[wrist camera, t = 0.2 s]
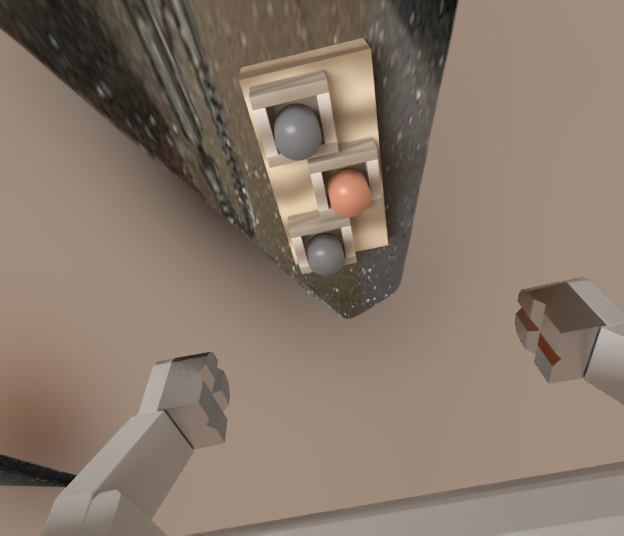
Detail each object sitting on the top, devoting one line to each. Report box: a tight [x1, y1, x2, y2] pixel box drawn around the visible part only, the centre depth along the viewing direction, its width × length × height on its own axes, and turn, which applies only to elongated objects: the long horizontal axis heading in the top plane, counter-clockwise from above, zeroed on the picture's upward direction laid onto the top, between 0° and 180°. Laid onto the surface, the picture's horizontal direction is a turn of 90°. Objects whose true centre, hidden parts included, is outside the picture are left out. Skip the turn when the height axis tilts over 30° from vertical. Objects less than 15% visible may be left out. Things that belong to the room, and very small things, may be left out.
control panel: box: [239, 38, 388, 274], centre depth 47 cm, size 25×13×7 cm, turn 11°
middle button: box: [327, 168, 372, 217], centre depth 44 cm, size 4×4×3 cm
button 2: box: [307, 232, 345, 275], centre depth 49 cm, size 4×4×3 cm
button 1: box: [274, 103, 322, 161], centre depth 38 cm, size 4×4×3 cm
